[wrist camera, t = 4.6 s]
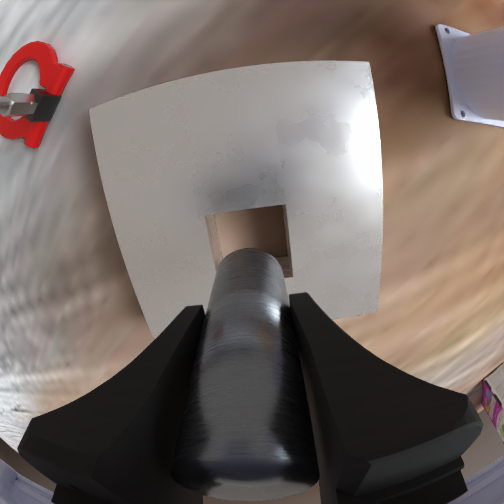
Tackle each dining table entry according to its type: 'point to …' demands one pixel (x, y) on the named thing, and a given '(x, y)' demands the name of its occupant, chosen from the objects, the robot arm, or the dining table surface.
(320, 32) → the dining table surface
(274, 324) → the pin
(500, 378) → the candy bar box
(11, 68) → the tow hook
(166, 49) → the dining table surface
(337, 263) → the bore block
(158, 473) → the robot arm
